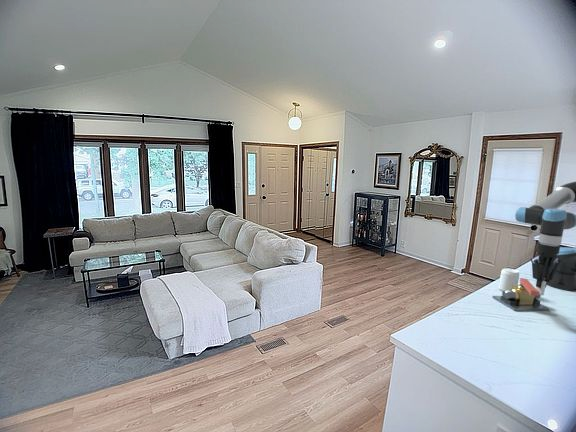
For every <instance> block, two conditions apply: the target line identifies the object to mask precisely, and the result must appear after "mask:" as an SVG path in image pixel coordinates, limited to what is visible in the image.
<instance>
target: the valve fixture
mask: <svg viewBox="0 0 576 432" xmlns="http://www.w3.org/2000/svg"><path fill="white" fill-rule="evenodd" d="M541 296H542V295H539V294H538V296H535V295H530V293H529V292H528V291H527V290H526V289H525V287H523V286H520V284H518V285H510V290H509V291H502V293H501V295H492V299H494V300H496V302H499V303H500V304H502V305H504V306H506V308H509V309H510V310H512V311H514V312H548V311H550V307H548V306H545V305H544V304H542V303H541V300H539V299H540V298H541Z"/></svg>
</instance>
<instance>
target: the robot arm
mask: <svg viewBox="0 0 576 432" xmlns="http://www.w3.org/2000/svg"><path fill="white" fill-rule="evenodd" d="M571 203H576V181H572V182H568V183H565V184H562V185H560V186H559V187H557V188H555V189H554V190H553V191H552V193H550V194H549V195H547V196H546V197H544V198H542V199H541V200H539V201H537V202H536V203H535V204H533V205H531V206H529V207H522V206H521V207H519V208H517V209H516V210H515V215H514V217H515V220H516V222H519V223H523V224H529V225H535V226H540V229H539V236H538V243H537V247H536V252H537V254H536V256H535V257H534V258H533V257H532V258H530V262H531V267H532V268H531V271H532V272H531V273H532V278H533V279H534V280H536V283H535V288H536V289H537V291H538V294H539V295H541V296H544V295H545V290H546V288H547V286H550V287H552V288H555V289H559V290H564V291H571V292H572V291H573V292H574V291H575V292H576V247H569V246H568V247H565V246H564V247H562V246H561V245H562V240H563V234H564V230H570V229H573V228H575V227H576V213H573V212H570V211H569V212H568V211H566V210H565V209H560V208H561V207H562V206H564V205H569V204H571Z"/></svg>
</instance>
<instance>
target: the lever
mask: <svg viewBox="0 0 576 432" xmlns="http://www.w3.org/2000/svg"><path fill="white" fill-rule="evenodd" d="M519 285H520V286H523V287H525V289H526V290H527V291H528V292H529V293H530V295H535V296H538V291H537V289H536V286H534V285H533V284H532V283H531V282H530V280H528V278H523V277H522V278H519Z"/></svg>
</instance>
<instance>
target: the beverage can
mask: <svg viewBox="0 0 576 432" xmlns="http://www.w3.org/2000/svg"><path fill="white" fill-rule="evenodd" d="M519 277H520V271H519V270H517V269H513V268H511V267H510V268H509V267H508V268H507V267H504V268H502V270H501V273H500V276H499V283H498V290H500V291H502V292H503V291H509V290H510V285H519V281H520V278H519Z"/></svg>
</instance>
